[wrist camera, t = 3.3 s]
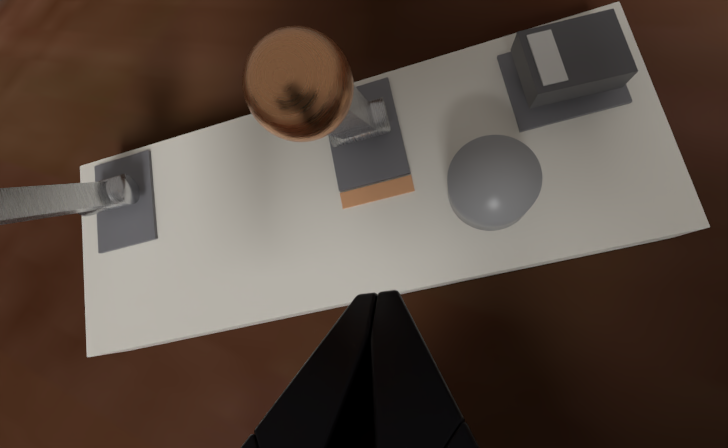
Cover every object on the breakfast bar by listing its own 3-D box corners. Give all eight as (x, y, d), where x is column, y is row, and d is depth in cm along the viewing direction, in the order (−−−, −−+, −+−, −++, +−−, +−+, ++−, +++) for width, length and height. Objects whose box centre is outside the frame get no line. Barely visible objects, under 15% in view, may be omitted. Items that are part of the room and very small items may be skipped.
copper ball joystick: (394, 142, 20) (362, 119, 8) (340, 157, 20) (238, 154, 9) (381, 89, 19) (328, -12, 8) (326, 106, 20) (201, 32, 8)
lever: (146, 211, 22) (-147, 265, 11) (102, 222, 22) (-223, 288, 11) (131, 164, 22) (-189, 169, 10) (87, 177, 22) (-265, 196, 11)
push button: (543, 220, 17) (554, 209, 15) (458, 239, 18) (459, 231, 16) (519, 143, 18) (527, 124, 16) (439, 163, 18) (438, 148, 17)
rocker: (622, 87, 17) (639, 70, 16) (529, 108, 17) (538, 93, 16) (600, 28, 18) (614, 7, 17) (510, 49, 18) (517, 30, 17)
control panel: (671, 238, 19) (713, 226, 16) (130, 350, 24) (83, 357, 21) (597, 41, 22) (621, -2, 18) (120, 180, 27) (76, 165, 23)
